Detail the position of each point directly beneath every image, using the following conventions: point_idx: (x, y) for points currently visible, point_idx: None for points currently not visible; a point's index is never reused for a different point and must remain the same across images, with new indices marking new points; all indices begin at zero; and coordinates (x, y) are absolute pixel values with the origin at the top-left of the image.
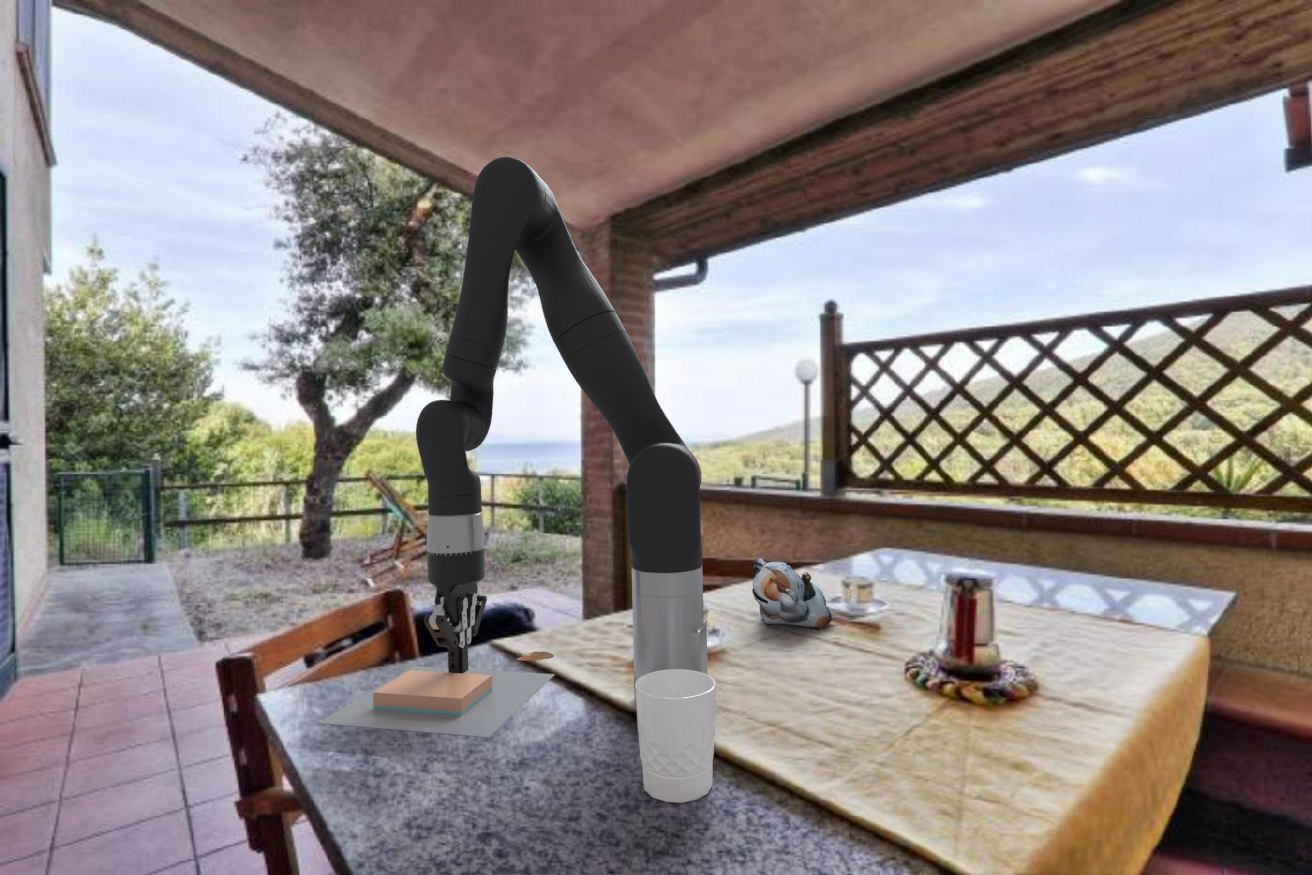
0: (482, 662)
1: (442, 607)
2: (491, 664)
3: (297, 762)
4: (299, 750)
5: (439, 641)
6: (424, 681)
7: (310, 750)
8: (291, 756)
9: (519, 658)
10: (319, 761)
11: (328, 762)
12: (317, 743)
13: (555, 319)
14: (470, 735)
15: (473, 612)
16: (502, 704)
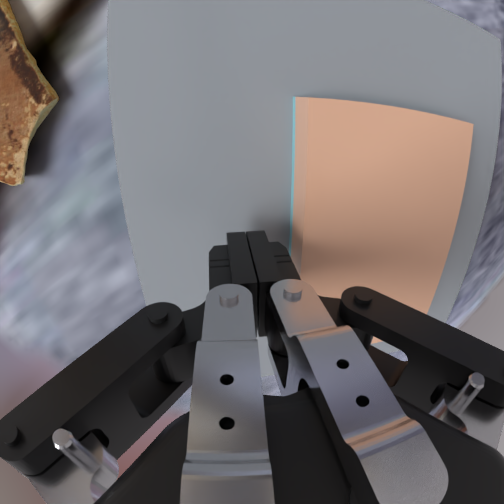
0: (46, 282)
1: (494, 444)
2: (44, 253)
3: (491, 287)
4: (467, 309)
5: (372, 350)
6: (372, 282)
7: (471, 298)
8: (477, 304)
9: (12, 177)
10: (496, 267)
11: (500, 255)
12: (457, 306)
13: None
14: (500, 72)
15: (213, 410)
16: (383, 33)
